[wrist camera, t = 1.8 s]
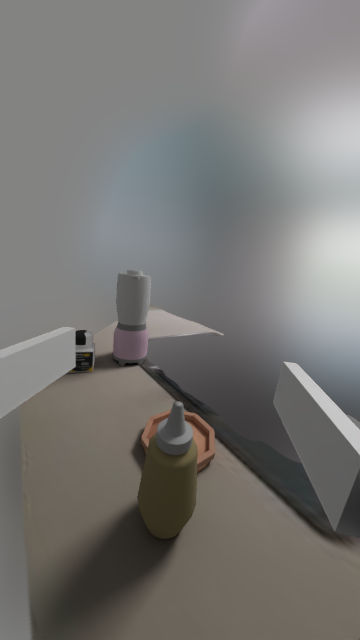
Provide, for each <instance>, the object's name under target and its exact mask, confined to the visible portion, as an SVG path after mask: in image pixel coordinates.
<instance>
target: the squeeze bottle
mask: <svg viewBox="0 0 360 640" xmlns="http://www.w3.org/2000/svg"><path fill="white" fill-rule="evenodd" d="M197 458H198V450H197V444H196V443H195V441H194V439H193V429H192V427H191V425H190V424H189V423H188V422H186V421H185V418H184V409H183V404H182V403H181V402H174V404H173V407H172V409H171V412H170V415H169V417H168V418H167V419H165V420H163V421H161V422H160V423H159V425H158V427H157V433H155V434H154V435H153V436H152V438H151V439H150V441H149V445H148V449H147V454H146V458H145V463H144V468H143V473H142V477H141V482H140V487H139V492H138V496H137V498H138V504H139V510H140V513H141V515H142V518H143V520H144V522H145V525H146V526H147V528H148V530H149V532H150V533H151V534H153V535H154V536H155V537H157V538H161V539H169V538H172V537H174V536H176V535H177V534H178V533H179V532H180V531H181V530H182V528H183V527H184V526H185V524H186V523H187V522H188V520H189V519H190V518H191V516H192V514H193V511H194V508H195V506H196V485H197Z"/></svg>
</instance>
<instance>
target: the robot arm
mask: <svg viewBox="0 0 360 640" xmlns="http://www.w3.org/2000/svg"><path fill="white" fill-rule="evenodd" d="M74 367H76V351H75V328H70V327H62V328H60V329H57V330H54V331H52V332H49V333H46V334H43V335H40V336H38V337H35V338H32V339H29V340H27V341H24V342H21V343H18V344H15V345H13V346H10V347H7V348H4V349H2V350H0V418H1V417H3V416H4V415H6V414H7V413H9V412H10V411H12V410H13V409H14V408H16V407H17V406H19V405H20V404H22V403H23V402H25V401H26V400H28V399H29V398H31V397H32V396H34V395H35V394H37V393H38V392H39V391H41V390H42V389H44V388H45V387H47V386H48V385H50V384H51V383H53V382H54V381H55V380H57V379H58V378H60V377H61V376H63V375H64V374H66V373H67V372H69V371H70V370H72V369H73V368H74ZM273 404H274V406H275V408H276V410H277V412H278V414H279V416H280V418H281V420H282V423H283V425H284V427H285V429H286V431H287V433H288V435H289V437H290V439H291V441H292V444H293V446H294V448H295V450H296V452H297V454H298V456H299V458H300V460H301V462H302V464H303V467H304V469H305V471H306V473H307V475H308V477H309V479H310V481H311V483H312V485H313V487H314V490H315V492H316V494H317V496H318V498H319V500H320V502H321V504H322V506H323V508H324V510H325V513H326V515H327V517H328V519H329V521H330V523H331V525H332V527H333V529H334V531H335V532H337V533H341V534H345V535H349V536H353V537H358V538H360V422H358V421H357V420H356V419H354V418H353V417H351V416H349V415H345V414H344V413H343V412H342V411H341V409H340V408H339V407H338V406H337V405H336V404H335V403H334V402H333V401H332V400H331V399H330V398H329V397H328V396H327V395H326V394H325V393H324V392H323V391H322V390H321V388H320V387H319V386H318V385H317V384H316V383H315V382H314V381H313V380H312V379H311V378H310V377H309V376H308V375H307V374H306V373H305V372H304V371H303V370H302V369H301V367H300V366H298V364H295V363H289V362H283V365H282V369H281V373H280V377H279V381H278V385H277V389H276V393H275V397H274V401H273Z"/></svg>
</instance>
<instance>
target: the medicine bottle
mask: <svg viewBox="0 0 360 640" xmlns="http://www.w3.org/2000/svg"><path fill="white" fill-rule="evenodd" d="M92 340H93V334H92V333H91V332H90V331H86V330H79V331H75V351H76V367H74V368H73V369H72V370H70V371H69V372H68V373H74V372H92V371H93V368H94V363H95V343H92Z"/></svg>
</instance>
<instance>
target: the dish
mask: <svg viewBox="0 0 360 640" xmlns="http://www.w3.org/2000/svg"><path fill="white" fill-rule="evenodd" d="M170 412H171V409H170V410H168V411H165V412H162V413H160V414H157V415H155V416H152V417H150V418H149V420H148V423H147V425H146V427H145V430H144V432H143V434H142V437H141V444H142V446H143V447H144V452H145V455H146V454H147V449H148V445H149V441H150V439H151V438H152V436H153V435H154V434H155V433H157V427H158V425H159V423H160V422H161V421H163V420H165V419H167V418H168V417H169V415H170ZM184 418H185V421H186V422H188V423H189V424H190V425H191V427H192V429H193V439H194V441H195V443H196V444H197V450H198V458H197V473H198V472H200V471H202V470H203V469H204V468H205V467H206V466H207V465H208V464H209V462H210V461H211V460H212V459H214V454H215V440H214V429H212V428H211V427H210V426H209V425H208V424H207V423H206V422H205V421H204V420H203V419H201V418H200V417H199V416H198V415H197V414H195V413H190V412H185V411H184Z"/></svg>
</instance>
